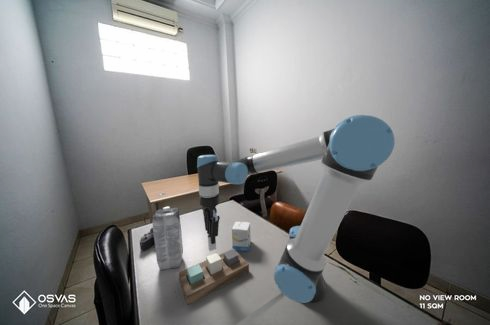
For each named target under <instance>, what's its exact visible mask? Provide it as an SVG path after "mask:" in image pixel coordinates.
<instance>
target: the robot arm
mask: <svg viewBox="0 0 490 325" xmlns="http://www.w3.org/2000/svg"><path fill="white" fill-rule="evenodd" d="M395 139H396V138H395V135H394V132H393V130H392V128H391V126H390V125H389V124H387V122H385V121H384V120H383V119H381V118H379V117H376V116H373V115H368V114H367V115H366V114H357V115H353V116H350V117H347V118H345V119H344V120H342V121H340V122H339V123H338V124H337V125H336V126H335V127H334V128H331V129H329V130H326V131H323V132H321V134H320V136H317V137H313V138H309V139H306V140H302V141H298V142H295V143H292V144H287V145H285V146H282V147H278V148H274V149H271V150H267V151H264V152H260V153H256V154H253V155H250V156H245V157H242V158H239V159H235V160H231V161H230V160H229V161H219V160H218V156H217V155H215V154H202V155H199V156H198V157H197V159H196V160H197V162H196V163H197V164H196V165H197V166H196V169H197V178H198V179H197V180H198V194H199V205H200V206H201V210H202V214H203V222H204V228H205V229H204V230H205V231H206V233H207V240H208V241H207V242H208V251H209V252H213V251H215V250H216V249H217V242H216V240H217V239H216V237H218V236H219V224H220V218H221V217H220V215H217V213H218V210H217V206H218V205H219V204H220V194H219V193H220V192H219V191H220V190H219V188H220V184H219V183H227V184H231V185H242V184H245V183H246V182H245V181H246V180H247V179H248V176H252V175H257V174H260V173H264V172H268V171H273V170H279V169H282V168H283V169H284V168H288V167H292V166H297V165H301V164H306V163H310V162H311V163H312V162H316V161H319V160H320V161H321V162H320V163H321V165H322V167H323V170H324V171H323V173H322V175H321V177H320V179H319V182H318V185H317V187H316V189H315V191H314V194H313V196H312V198H311V201H310V202H309V204H308V208H307V210H306V213H305V215H304V217H303V219H302V222H301V224H300V225H296V226H292V227H291V228H290V229H289V233H288V235H289V236H288V237H289V240H288V241H287V244H286V245H285V247H284V250H283V252H282V255H281V257H280V260H279V262H278V264H277V265H276V267H275V270H274V274H273V276H274V277H273V278H274V281H275V282H274V283H275V285H277V288H278V290H279V291H280V292H281V293H282V294H283V295H284V296H285V297H286V298H288V299H289V300H292V301H294V302H295V303H302V304H307V303H315V302H319V301H320V300H322V299H323V298H324V297H325V295H326V291H327V290H326V289H327V288H326V287H327V286H326V280H325V278H324V276H323V271H324V270H325V267H326V265H327V261H326V258H325V254H326V252H327V250H328V248H329V246H330V244H331V242H332V240H333V238H334V236H335V234H336V232H337V230H338V228H339V227H340V224H341V222H342V220H343V218H344V216H346V213H347V210H349V207H350V205H351V203H352V201H353V199H354V197H355V195H356V193H357V191H358V189H359V187H360V185H361V184H364V183H367V182H371V181H372V179H373V178H374V175H375V174H376V171H378V168H379V167H380V166H381V165H383V163H385V162H386V161H387V160H388V159H389V158H390V156H391V155H392V153H393V150H394V149H395V144H396V140H395Z"/></svg>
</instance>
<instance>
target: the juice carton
mask: <svg viewBox="0 0 490 325" xmlns="http://www.w3.org/2000/svg"><path fill="white" fill-rule="evenodd" d="M170 207H171V206H165V207H162V209H158V210H156V212H155V213H154V215H153V216H152V217H151V219H152V220H151V221H152V228H153V233H154V241H155V245H154V248H155V256H156V263H157V266H158V269H159V271H165V270H169V269H173V268H174V269H176V268H180V267H181V262H182V258H183V254H184V246H183V244H184V243H183V237H182V236H183V234H182V225H181V216H180V210H179V208H178V207H173V208H170Z"/></svg>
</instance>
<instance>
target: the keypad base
mask: <svg viewBox="0 0 490 325" xmlns="http://www.w3.org/2000/svg"><path fill="white" fill-rule="evenodd" d="M230 250H234V251H235V252H236V253H237V254H238V258H239V263H236V264H234V265H232V266H230V267H228V266H227V265H226V264H225V262H224V253H226V252H228V251H230ZM218 255H219V256H220V258H221V260H222V270H220V271H218V272H216V273H214V274H212V275H211V274H210V272H209V270H208V269H207V262H206V260H204V261H202V262H200V263H197V264H195V265H198V264H199V265H200V267H201V269H202V271H203V279H204V280H201V281H199V282H197V283H195V284H193V285H191V286H190V284H189V281H188V274H187V269H188V268H191V267H193V266H195V265H192V266H190V267H188V268H185V269H183V270H180V271H178V280H179V283H180V285H181V286H180V287H181V289H182V292H183V294H184V297H185V300H186V304H187V305H189V304H191V303H193V302H195V301H198V300H199V299H202V298H203V297H205V296H207V295H209V294H210V293H212V292H214V291H215V290H218V289H220V288H221V287H224V286H225V285H228V284H229V283H231V282H232V281H235V280H236V279H238V278H240V277H241V276H243V275H246V274H247V273H249V272H250V265H249V263H248V262H247V261H246V260H245V259H244V258H243V256H241V254H240V253H239V251H238V250H235V249H233V248H231V249H229V250H227V251H225V252H223V253H221V254H218Z"/></svg>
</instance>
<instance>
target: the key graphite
mask: <svg viewBox="0 0 490 325" xmlns="http://www.w3.org/2000/svg"><path fill="white" fill-rule="evenodd" d="M229 250H230V251H229ZM229 250H227V251H228V252H227V251H225V252H226V253H225V252H223V253H224V262H225V264H226V265H227V266H228V267H230V266H232V265H234V264H236V263H239V258H238V254H237V253H236V252H235V251H234V250H232V249H229Z"/></svg>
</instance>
